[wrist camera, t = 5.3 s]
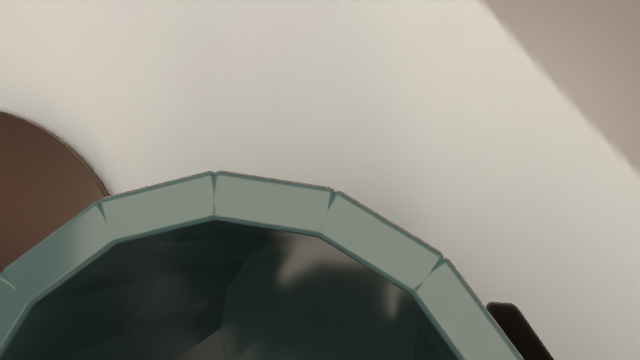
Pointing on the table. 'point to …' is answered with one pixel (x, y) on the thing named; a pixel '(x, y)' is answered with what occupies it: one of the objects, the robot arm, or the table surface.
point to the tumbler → (239, 281)
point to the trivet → (38, 186)
